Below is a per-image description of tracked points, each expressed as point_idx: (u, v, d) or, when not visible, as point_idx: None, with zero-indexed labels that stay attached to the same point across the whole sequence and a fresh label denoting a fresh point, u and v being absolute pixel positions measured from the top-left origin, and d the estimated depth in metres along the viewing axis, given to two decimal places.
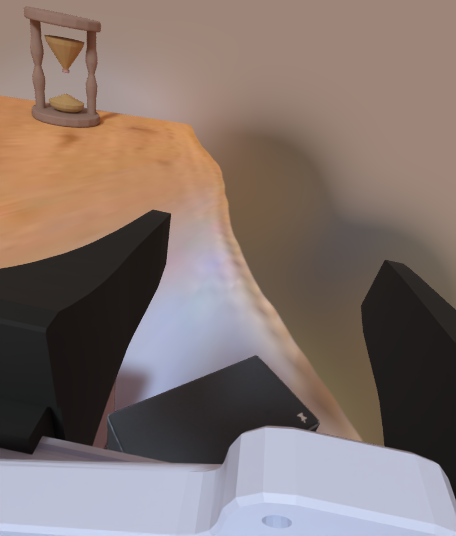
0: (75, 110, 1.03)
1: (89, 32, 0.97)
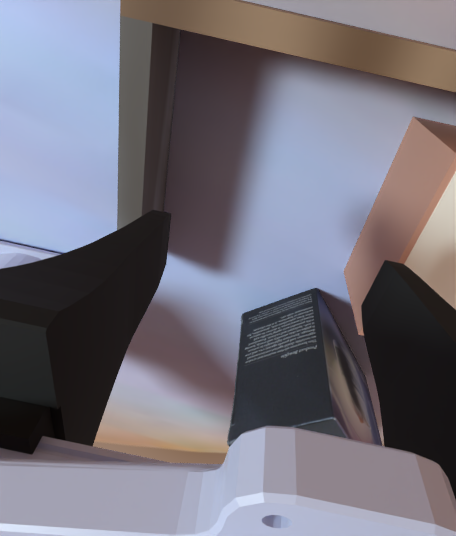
0: None
1: None
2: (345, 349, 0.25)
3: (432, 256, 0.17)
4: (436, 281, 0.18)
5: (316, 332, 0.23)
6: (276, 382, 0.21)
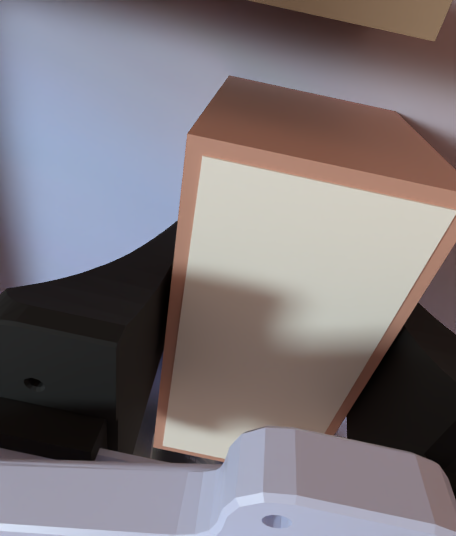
0: None
1: None
2: None
3: (219, 338, 0.09)
4: (245, 377, 0.10)
5: None
6: None
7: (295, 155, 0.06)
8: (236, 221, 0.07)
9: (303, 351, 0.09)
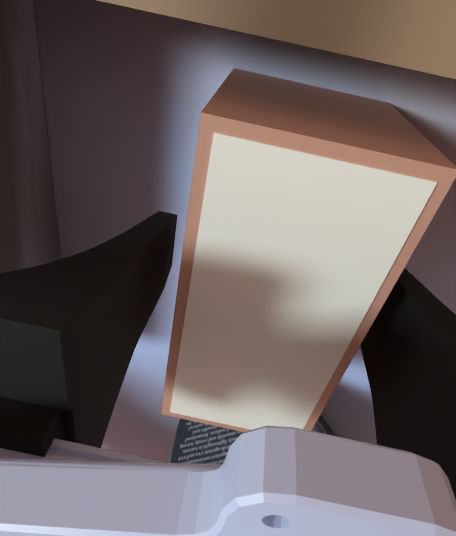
0: None
1: None
2: None
3: (225, 303, 0.10)
4: (248, 342, 0.10)
5: None
6: None
7: (295, 132, 0.07)
8: (242, 192, 0.08)
9: (301, 316, 0.10)
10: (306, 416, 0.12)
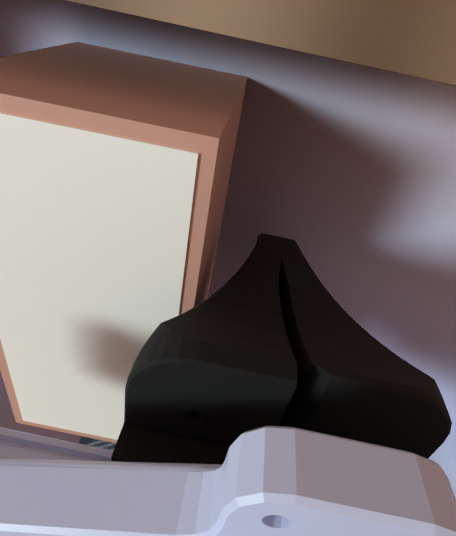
0: None
1: None
2: None
3: (29, 301, 0.09)
4: (72, 344, 0.09)
5: None
6: None
7: (25, 97, 0.06)
8: None
9: (113, 314, 0.09)
10: None
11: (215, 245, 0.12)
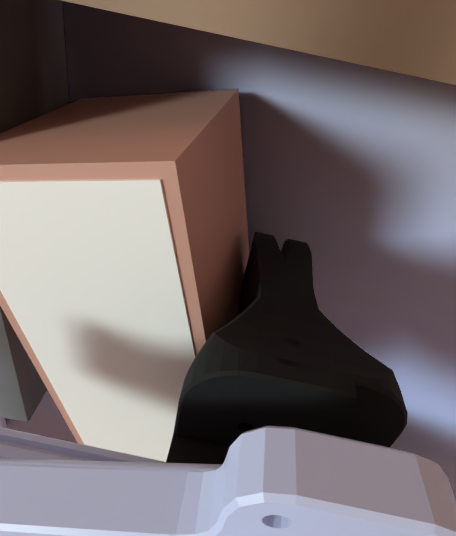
0: None
1: None
2: None
3: (61, 342, 0.09)
4: (108, 377, 0.10)
5: None
6: None
7: (7, 163, 0.07)
8: (1, 232, 0.08)
9: (133, 344, 0.09)
10: None
11: (241, 260, 0.12)
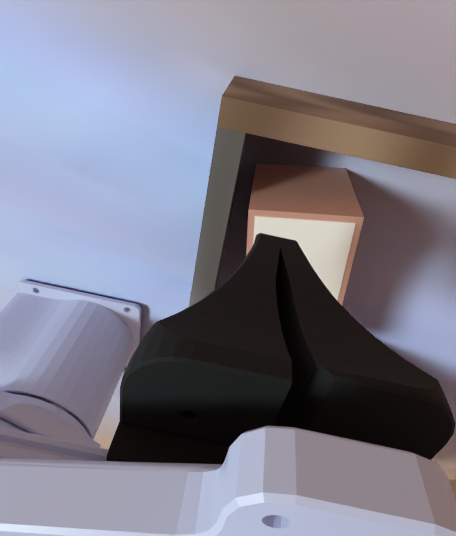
0: None
1: None
2: None
3: None
4: None
5: None
6: None
7: (289, 211, 0.17)
8: None
9: None
10: None
11: None
